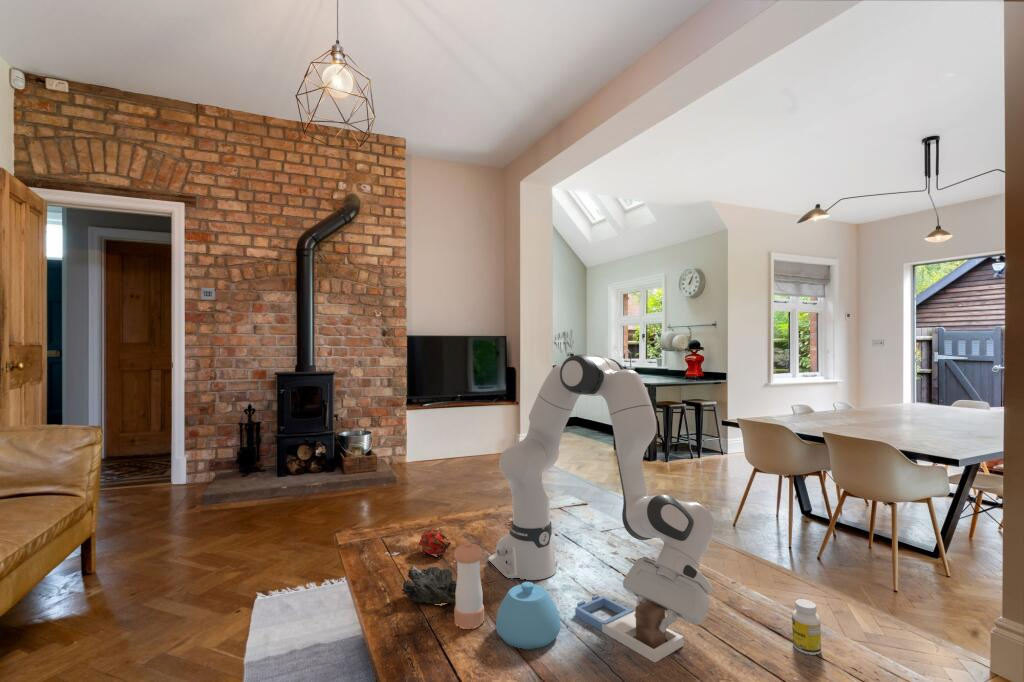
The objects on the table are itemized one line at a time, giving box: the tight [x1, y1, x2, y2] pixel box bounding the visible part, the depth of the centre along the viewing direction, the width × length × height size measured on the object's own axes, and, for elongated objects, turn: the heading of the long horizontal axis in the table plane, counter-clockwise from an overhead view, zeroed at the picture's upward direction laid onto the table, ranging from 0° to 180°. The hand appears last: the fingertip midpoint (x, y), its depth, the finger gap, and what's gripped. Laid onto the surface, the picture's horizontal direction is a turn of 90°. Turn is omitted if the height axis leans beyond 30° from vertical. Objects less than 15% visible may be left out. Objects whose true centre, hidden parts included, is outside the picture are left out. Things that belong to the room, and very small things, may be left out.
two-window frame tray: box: [574, 594, 685, 663], centre depth 121 cm, size 25×10×2 cm, turn 36°
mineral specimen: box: [401, 564, 457, 605], centre depth 138 cm, size 15×13×10 cm
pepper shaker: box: [453, 541, 485, 627], centre depth 126 cm, size 7×7×19 cm
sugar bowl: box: [495, 581, 562, 650], centre depth 120 cm, size 15×15×12 cm
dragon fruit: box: [418, 528, 451, 555], centre depth 167 cm, size 8×8×12 cm
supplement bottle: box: [791, 598, 822, 656], centre depth 113 cm, size 5×5×10 cm
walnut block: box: [635, 601, 667, 649], centre depth 115 cm, size 4×4×8 cm
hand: (648, 624), depth 115 cm, fingers closed on walnut block, 4 cm apart
